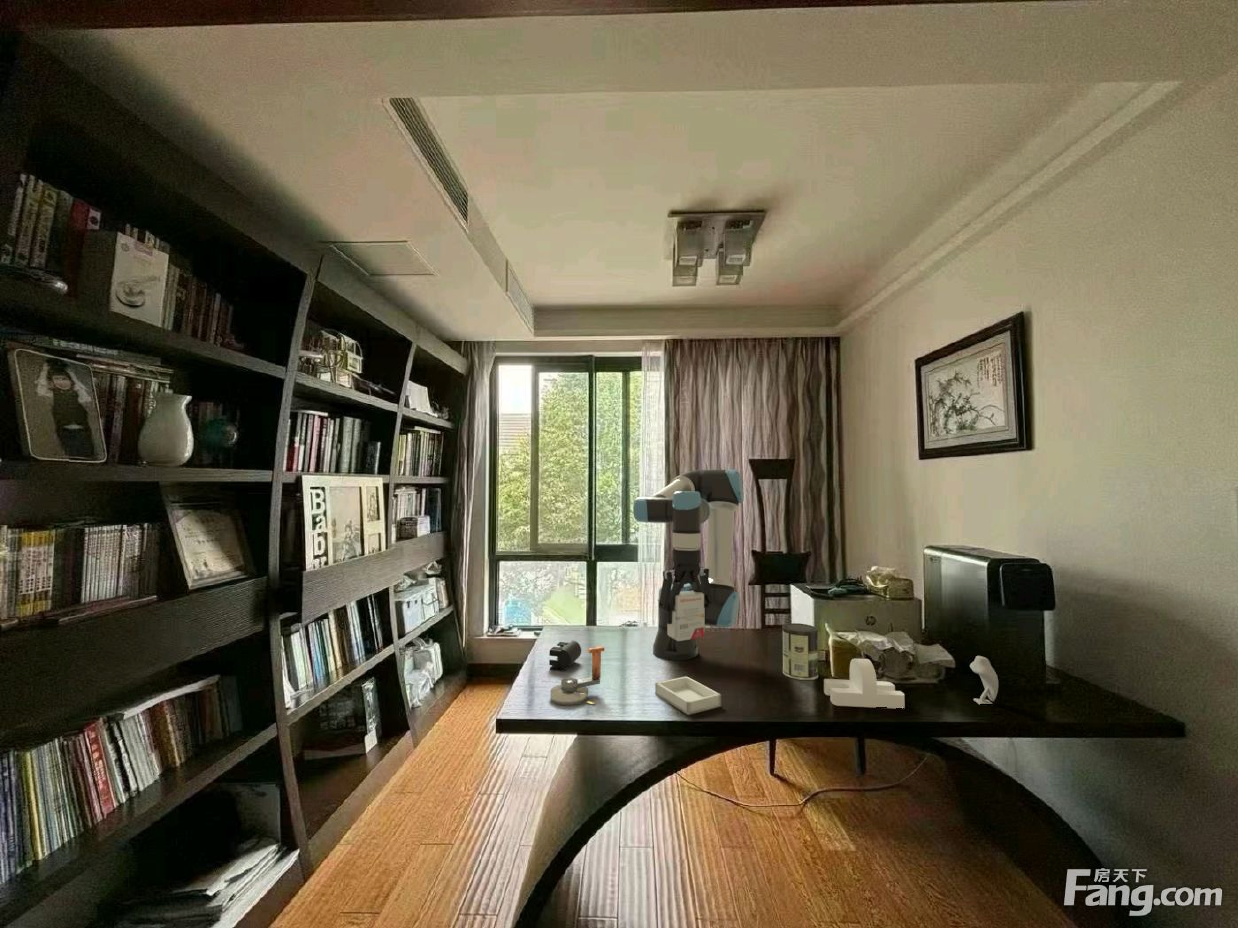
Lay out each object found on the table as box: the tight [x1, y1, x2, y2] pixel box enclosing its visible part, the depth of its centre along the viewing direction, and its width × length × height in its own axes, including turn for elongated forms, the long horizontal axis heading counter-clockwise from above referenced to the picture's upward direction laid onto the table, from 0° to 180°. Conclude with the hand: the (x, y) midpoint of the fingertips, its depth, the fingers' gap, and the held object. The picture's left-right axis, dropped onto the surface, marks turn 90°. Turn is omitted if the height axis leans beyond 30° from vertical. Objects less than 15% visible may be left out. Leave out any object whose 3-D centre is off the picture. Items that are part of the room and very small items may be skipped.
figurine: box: [969, 655, 999, 705], centre depth 137 cm, size 8×5×12 cm
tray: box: [654, 675, 722, 716], centre depth 136 cm, size 11×15×3 cm
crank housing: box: [549, 683, 596, 707], centre depth 136 cm, size 10×12×2 cm
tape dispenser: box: [823, 658, 906, 710], centre depth 138 cm, size 10×18×11 cm, turn 84°
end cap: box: [548, 639, 582, 672], centre depth 161 cm, size 10×7×7 cm
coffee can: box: [781, 622, 819, 681], centre depth 156 cm, size 10×10×14 cm
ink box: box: [668, 591, 705, 641], centre depth 137 cm, size 9×5×12 cm, turn 116°
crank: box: [560, 646, 605, 692], centre depth 139 cm, size 12×4×10 cm, turn 120°
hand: (686, 633), depth 137 cm, fingers closed on ink box, 9 cm apart
